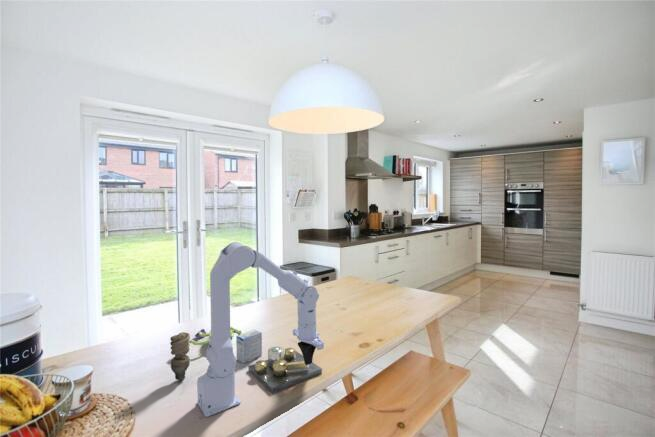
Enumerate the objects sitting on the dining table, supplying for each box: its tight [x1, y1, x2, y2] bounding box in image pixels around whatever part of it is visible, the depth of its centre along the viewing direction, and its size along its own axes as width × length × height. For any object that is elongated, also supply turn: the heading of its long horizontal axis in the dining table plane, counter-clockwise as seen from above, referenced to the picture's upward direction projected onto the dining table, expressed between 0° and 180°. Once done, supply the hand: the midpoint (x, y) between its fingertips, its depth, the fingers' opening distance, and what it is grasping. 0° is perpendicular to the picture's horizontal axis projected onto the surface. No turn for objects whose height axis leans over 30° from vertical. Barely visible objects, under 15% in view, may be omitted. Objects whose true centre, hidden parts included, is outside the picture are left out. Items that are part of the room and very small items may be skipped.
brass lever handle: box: [273, 360, 309, 376], centre depth 103 cm, size 11×4×3 cm, turn 104°
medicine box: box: [235, 329, 263, 364], centre depth 115 cm, size 8×4×9 cm, turn 141°
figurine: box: [189, 326, 243, 346], centre depth 125 cm, size 18×27×6 cm
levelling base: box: [248, 346, 323, 394], centre depth 105 cm, size 18×16×7 cm
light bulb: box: [169, 331, 191, 382], centre depth 100 cm, size 6×6×15 cm
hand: (308, 363), depth 103 cm, fingers closed, pressing on brass lever handle
